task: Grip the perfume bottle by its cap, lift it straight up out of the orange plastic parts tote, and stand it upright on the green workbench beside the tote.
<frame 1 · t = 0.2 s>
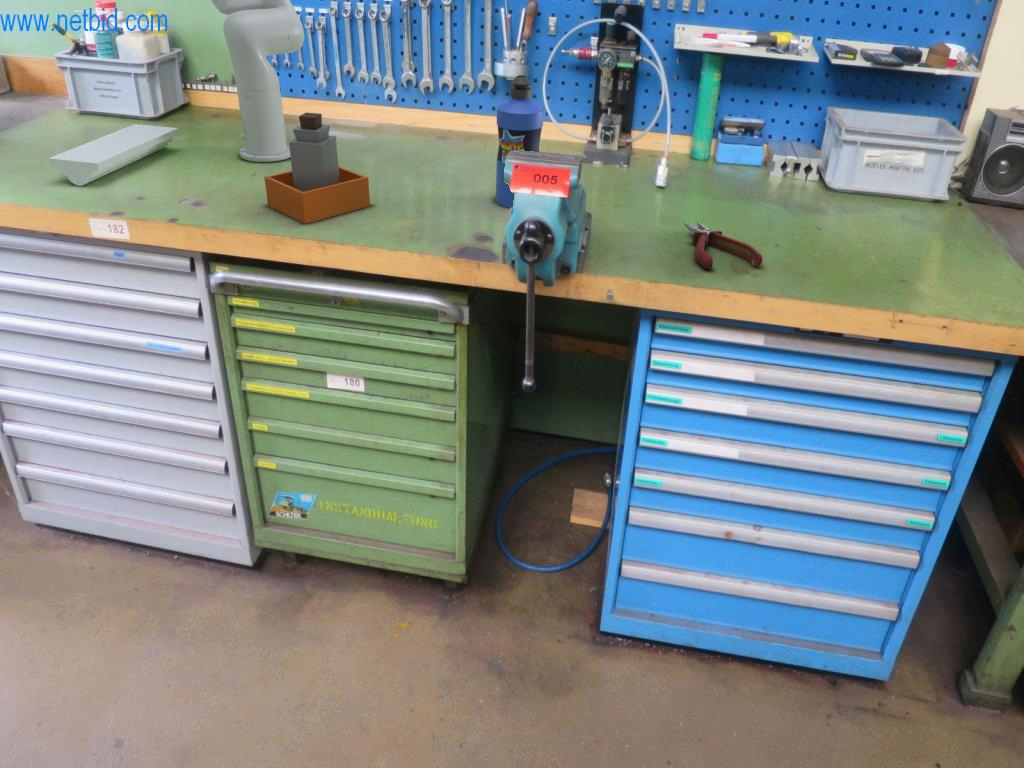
water bottle: (517, 201, 167), on the table
pliers: (720, 251, 147), on the table
perfume bottle: (319, 207, 160), resting in tote
shelf: (123, 166, 179), on the table
tote: (319, 206, 160), on the table
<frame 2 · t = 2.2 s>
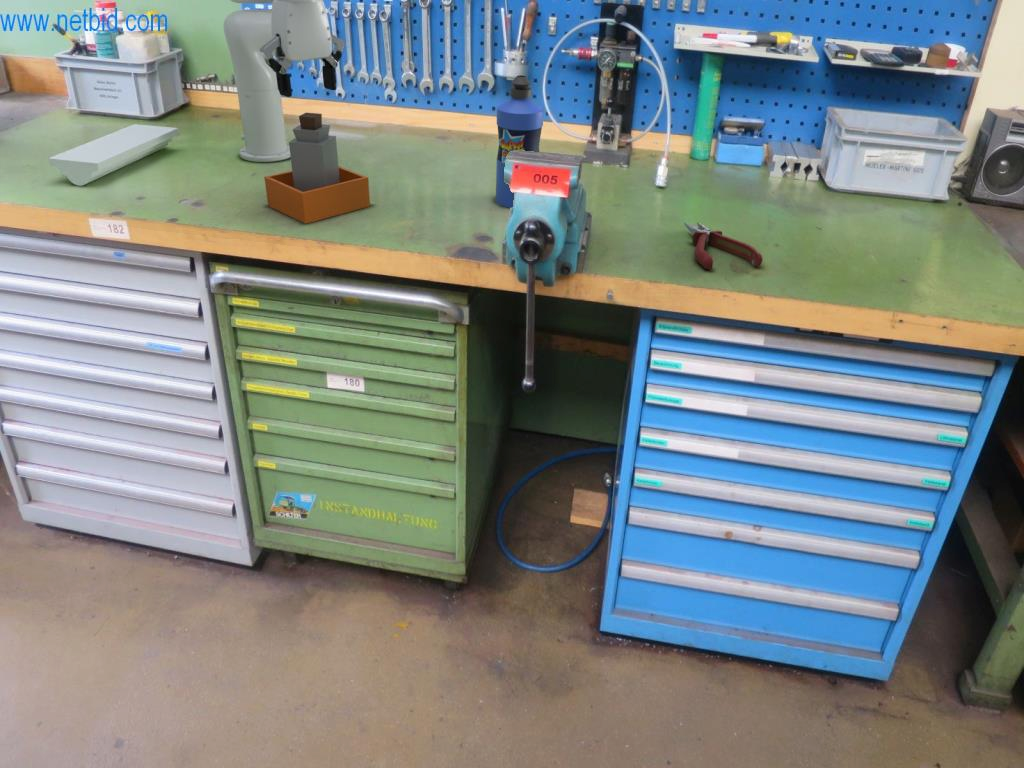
hand: (308, 92, 148), 22 cm above the table, tool pointing down, fingers open, 9 cm apart
nothing on the table moved.
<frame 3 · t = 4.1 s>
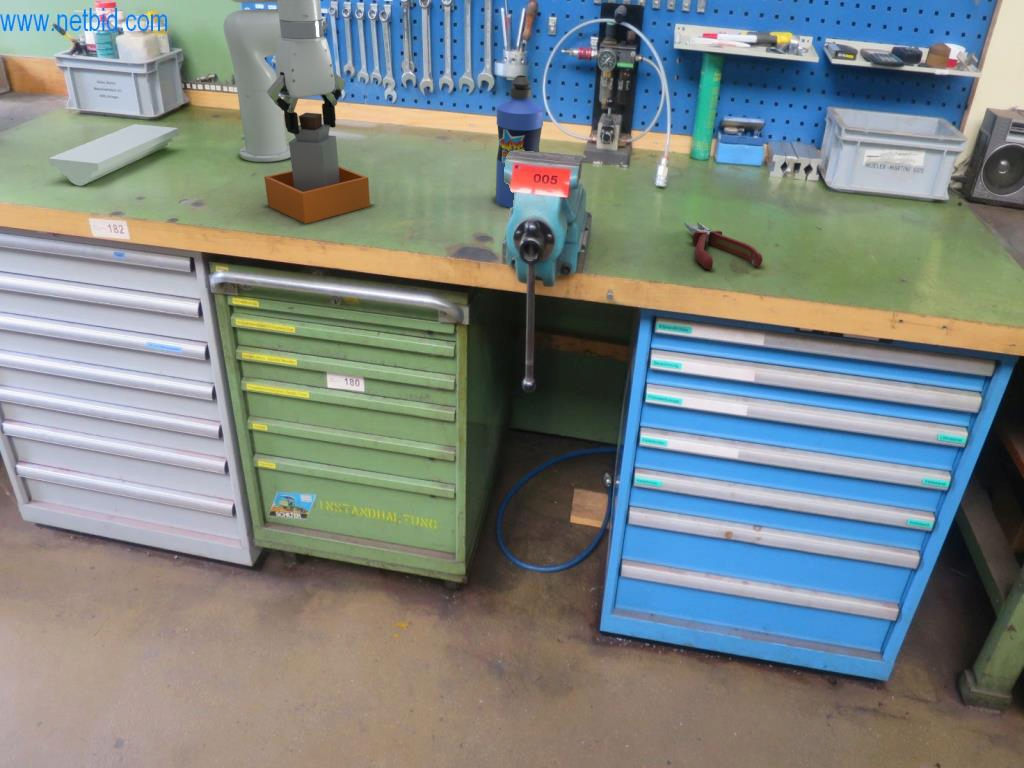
hand: (311, 128, 152), 15 cm above the table, tool pointing down, fingers closed on perfume bottle, 7 cm apart
perfume bottle: (319, 207, 160), resting in tote, touching gripper
everything else where it was.
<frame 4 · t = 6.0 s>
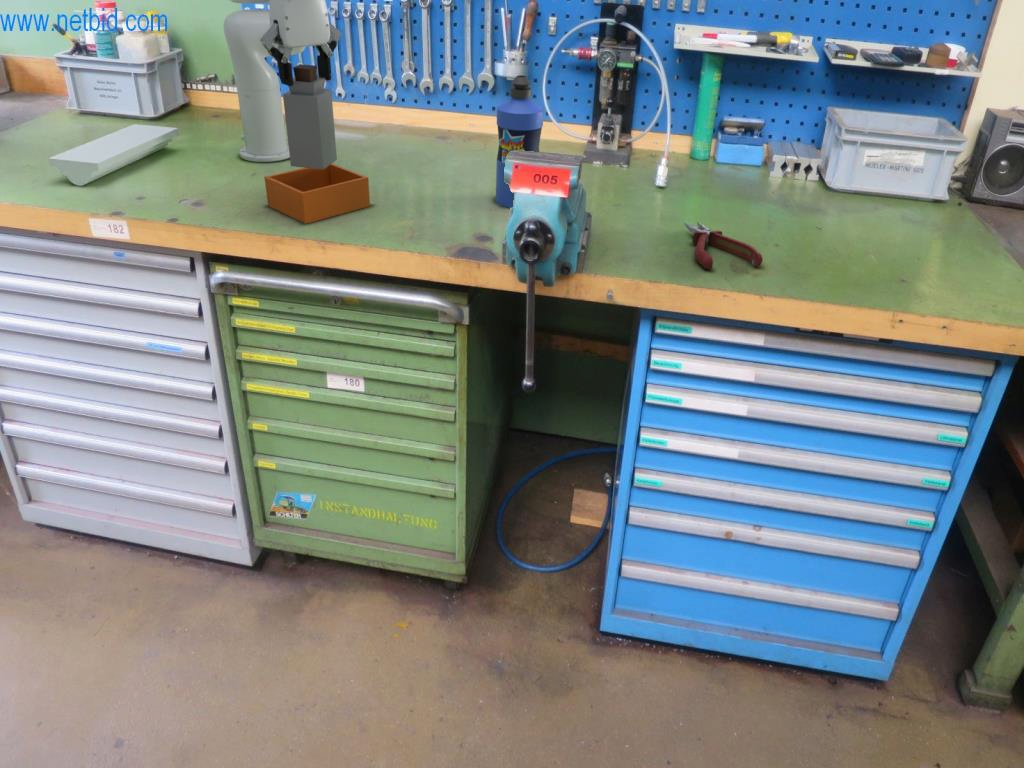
hand: (306, 81, 148), 24 cm above the table, tool pointing down, fingers closed on perfume bottle, 7 cm apart
perfume bottle: (314, 163, 156), point 8 cm above the table, touching gripper
everything else where it was.
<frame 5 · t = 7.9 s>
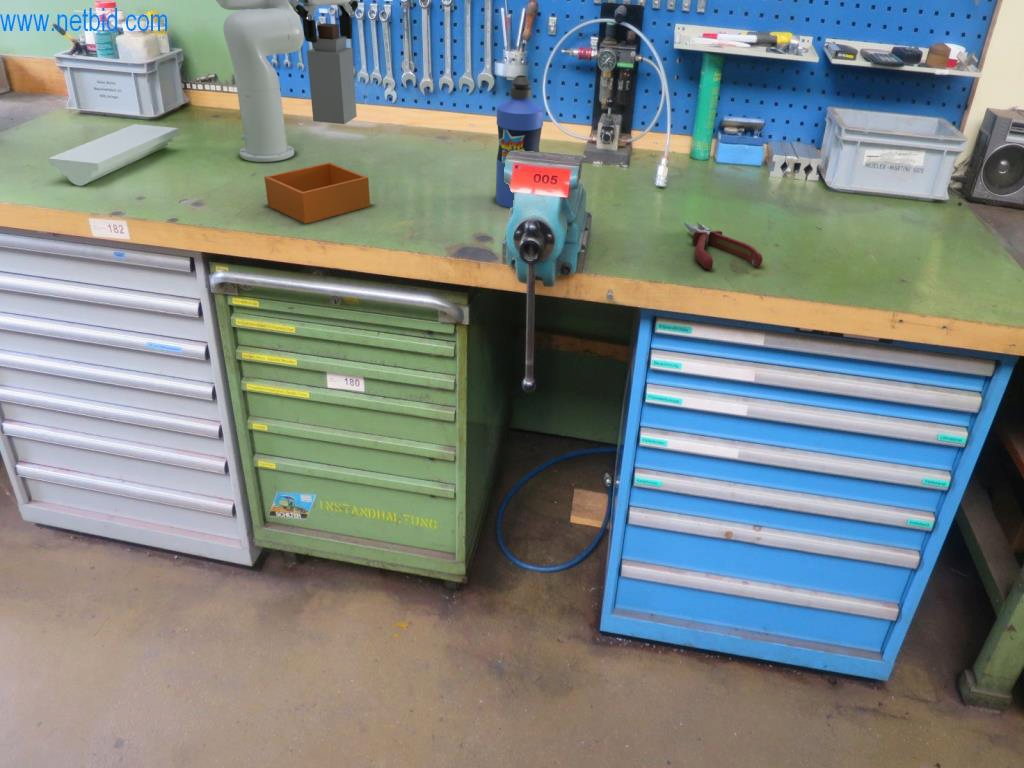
hand: (328, 39, 156), 30 cm above the table, tool pointing down, fingers closed on perfume bottle, 7 cm apart
perfume bottle: (335, 119, 165), point 14 cm above the table, touching gripper
everything else where it was.
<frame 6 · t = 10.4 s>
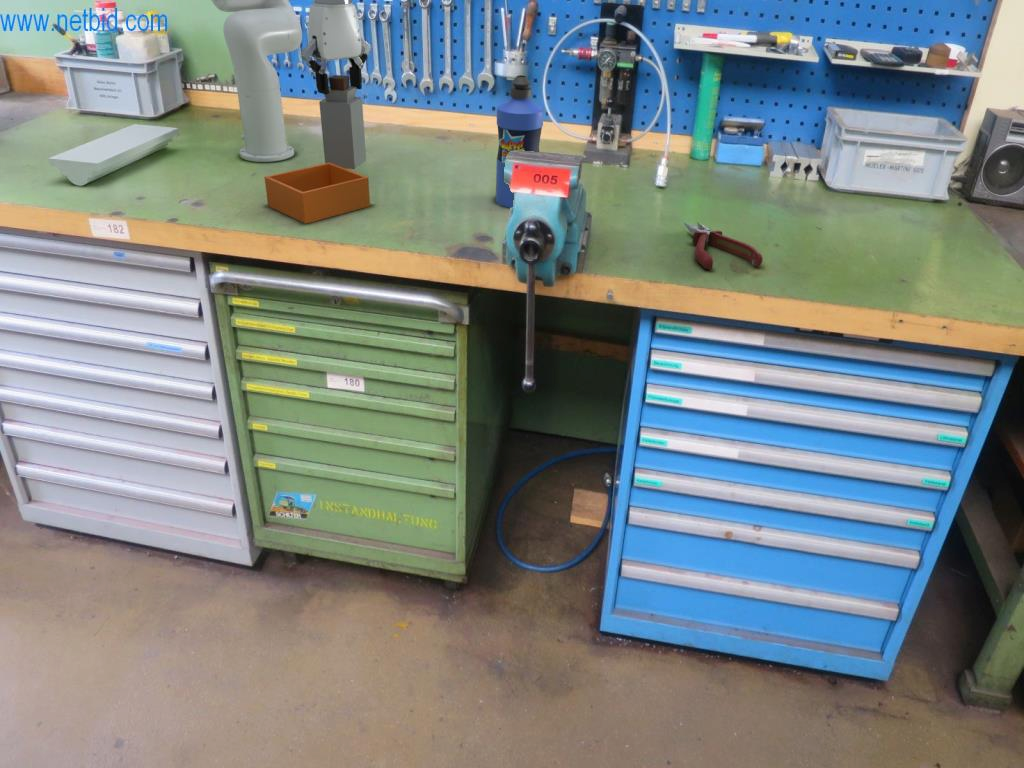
hand: (340, 90, 165), 19 cm above the table, tool pointing down, fingers closed on perfume bottle, 7 cm apart
perfume bottle: (346, 164, 173), point 4 cm above the table, touching gripper
everything else where it was.
when the fingers open (15 cm above the table, at t = 11.9 s): perfume bottle stays where it is, on the table.
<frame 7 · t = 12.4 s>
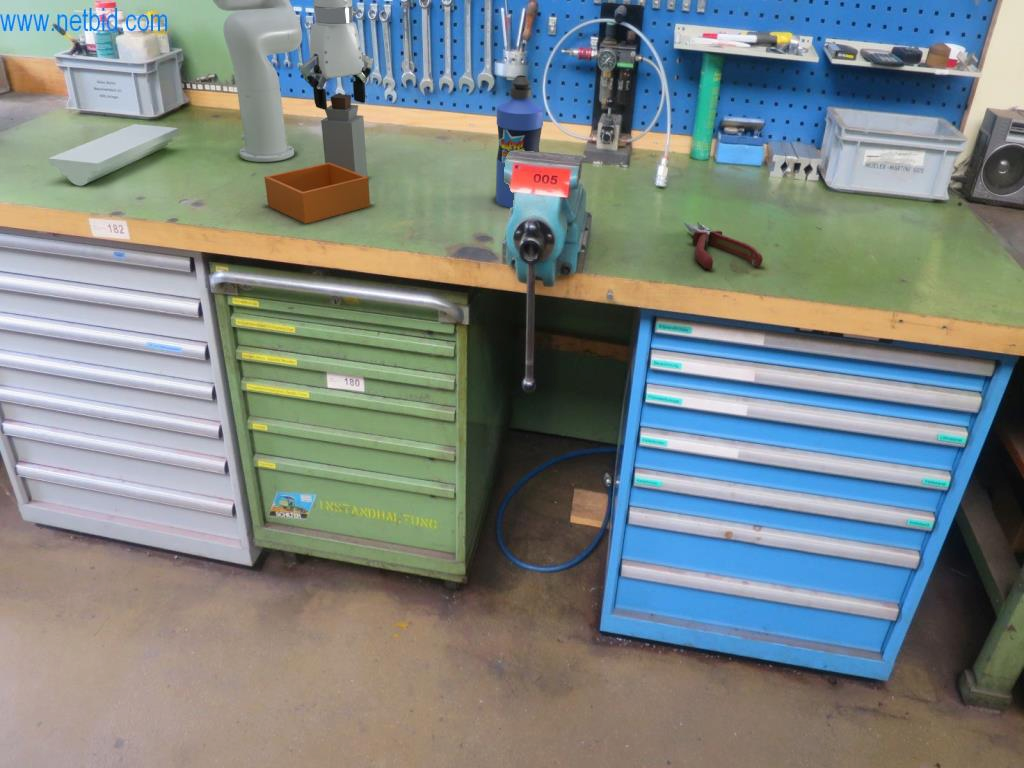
hand: (340, 104, 166), 16 cm above the table, tool pointing down, fingers open, 9 cm apart
perfume bottle: (347, 181, 175), on the table
everything else where it was.
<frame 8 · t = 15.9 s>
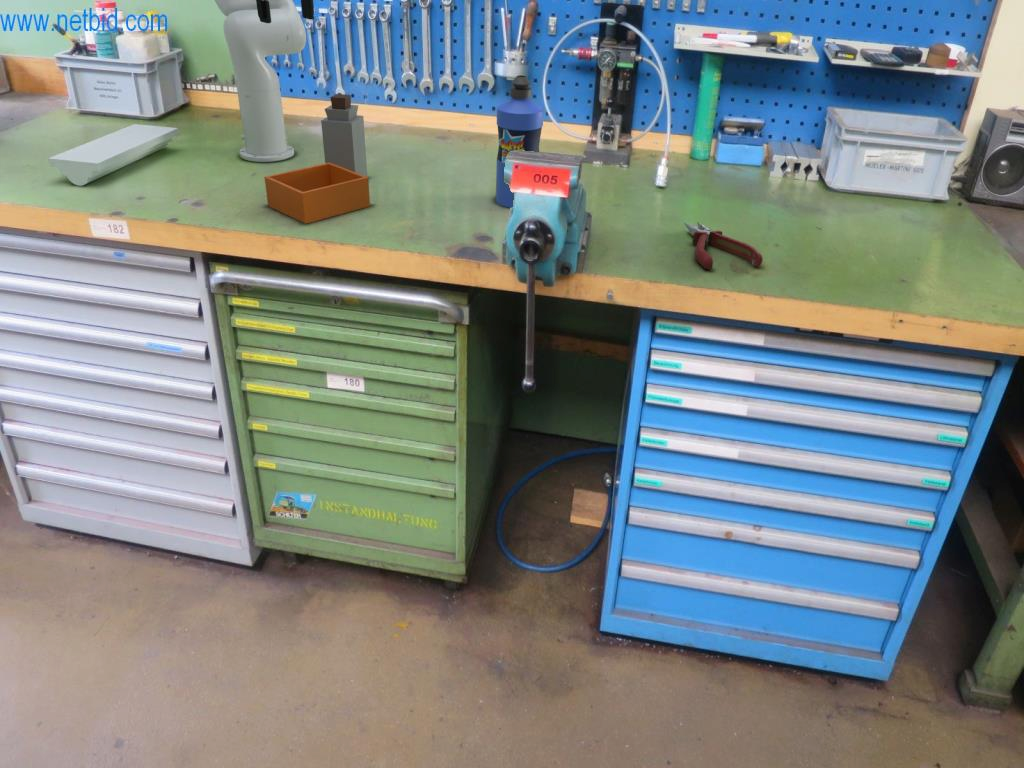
hand: (287, 20, 157), 32 cm above the table, tool pointing down, fingers open, 9 cm apart
nothing on the table moved.
at the end: perfume bottle inside the target area (0.1 cm from its centre), on the table; perfume bottle tilted 0°; the gripper is holding nothing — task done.
